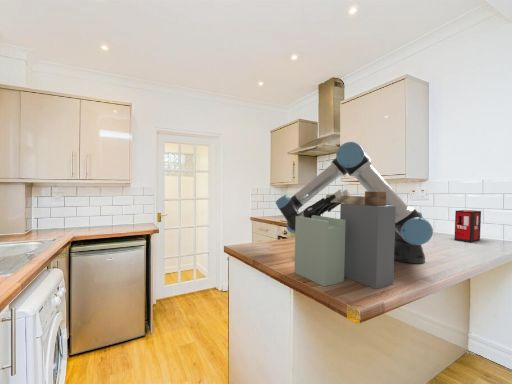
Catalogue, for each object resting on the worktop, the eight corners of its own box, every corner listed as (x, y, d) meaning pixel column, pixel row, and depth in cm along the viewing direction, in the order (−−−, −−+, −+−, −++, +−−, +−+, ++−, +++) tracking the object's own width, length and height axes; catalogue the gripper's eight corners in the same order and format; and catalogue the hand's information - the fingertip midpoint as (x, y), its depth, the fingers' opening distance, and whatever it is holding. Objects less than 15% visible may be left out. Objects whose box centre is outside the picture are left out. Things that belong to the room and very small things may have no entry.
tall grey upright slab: (338, 274, 100) (340, 203, 100) (355, 270, 106) (357, 202, 105) (376, 289, 87) (378, 206, 86) (393, 283, 92) (395, 205, 91)
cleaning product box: (463, 238, 181) (464, 209, 181) (479, 240, 174) (481, 211, 173) (454, 240, 172) (455, 210, 171) (471, 243, 164) (472, 212, 164)
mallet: (324, 201, 111) (324, 190, 110) (332, 201, 113) (332, 190, 113) (377, 206, 89) (377, 191, 89) (385, 205, 92) (386, 191, 92)
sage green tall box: (294, 272, 102) (295, 216, 101) (313, 268, 107) (314, 215, 106) (324, 286, 88) (325, 221, 88) (343, 281, 93) (345, 219, 93)
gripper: (324, 222, 124) (361, 200, 107) (298, 224, 116) (334, 200, 98) (319, 208, 127) (354, 184, 110) (294, 209, 119) (327, 184, 102)
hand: (344, 192), depth 104 cm, fingers closed on mallet, 3 cm apart
